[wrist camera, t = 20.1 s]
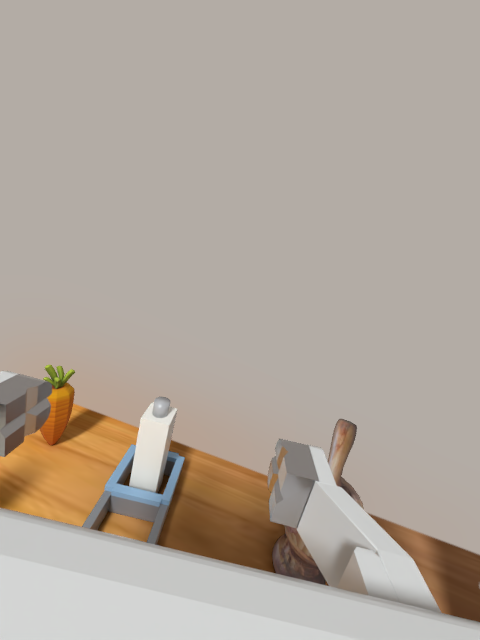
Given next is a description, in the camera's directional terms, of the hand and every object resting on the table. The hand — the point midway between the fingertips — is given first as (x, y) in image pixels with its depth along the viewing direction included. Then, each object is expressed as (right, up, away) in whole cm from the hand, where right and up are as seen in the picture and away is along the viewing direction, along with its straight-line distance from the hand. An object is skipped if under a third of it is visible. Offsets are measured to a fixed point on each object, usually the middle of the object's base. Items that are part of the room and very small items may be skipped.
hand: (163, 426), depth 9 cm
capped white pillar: (-12, -23, +32) cm, 41 cm away
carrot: (-30, -18, +36) cm, 50 cm away
